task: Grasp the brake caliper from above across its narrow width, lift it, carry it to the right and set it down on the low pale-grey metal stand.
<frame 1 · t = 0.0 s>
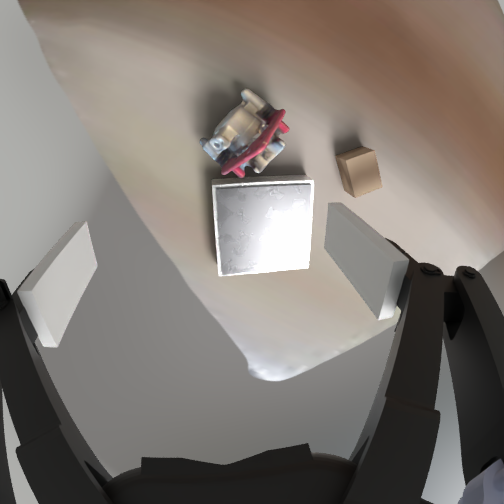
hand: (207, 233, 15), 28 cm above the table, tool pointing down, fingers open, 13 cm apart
brown rectangular block: (353, 168, 44), on the table
brake caliper: (244, 135, 40), on the table
stand: (260, 220, 46), on the table
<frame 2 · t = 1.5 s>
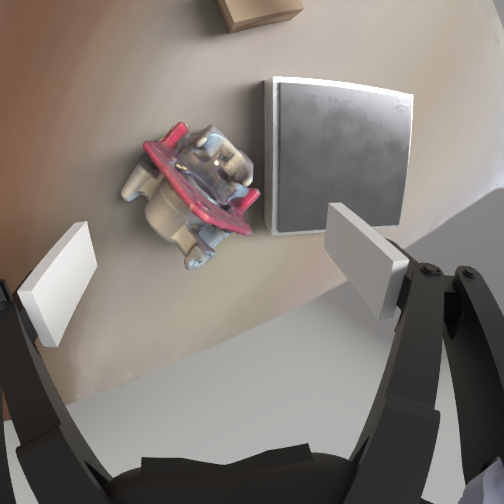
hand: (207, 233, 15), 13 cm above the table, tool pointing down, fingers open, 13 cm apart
brown rectangular block: (251, 4, 20), on the table
brake caliper: (196, 178, 27), on the table
stand: (333, 153, 28), on the table
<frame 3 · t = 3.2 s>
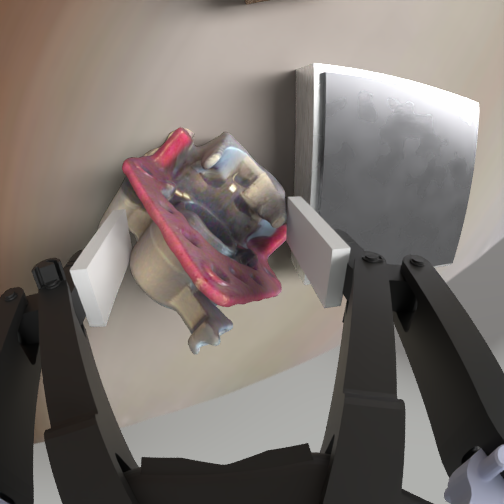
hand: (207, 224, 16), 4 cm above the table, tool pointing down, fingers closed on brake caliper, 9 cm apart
brake caliper: (202, 205, 20), on the table, touching gripper
stand: (381, 171, 21), on the table
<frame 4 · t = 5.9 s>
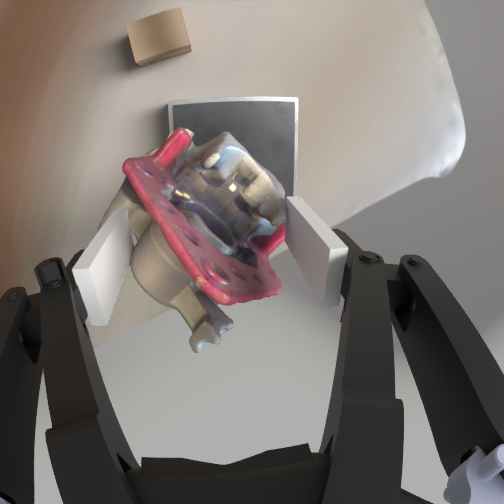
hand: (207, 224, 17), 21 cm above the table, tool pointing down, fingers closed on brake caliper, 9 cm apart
brown rectangular block: (161, 41, 27), on the table
brake caliper: (203, 204, 20), point 16 cm above the table, touching gripper
stand: (232, 154, 35), on the table
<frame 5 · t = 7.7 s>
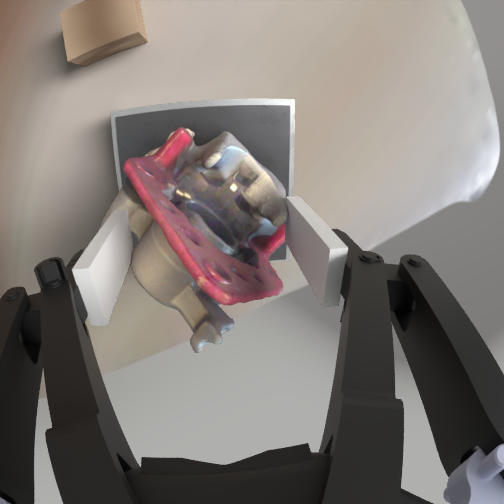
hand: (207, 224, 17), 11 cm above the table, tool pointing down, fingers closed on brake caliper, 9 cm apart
brown rectangular block: (111, 30, 18), on the table
brake caliper: (203, 204, 20), point 6 cm above the table, touching gripper
stand: (205, 179, 26), on the table
when the fingers open (10 cm above the table, at t = 8.8 s): brake caliper drops 2 cm, resting on stand.
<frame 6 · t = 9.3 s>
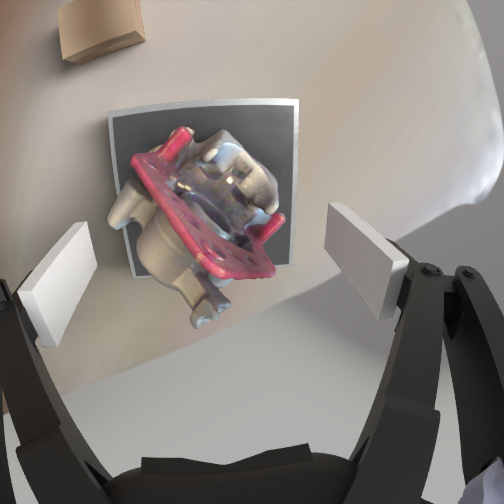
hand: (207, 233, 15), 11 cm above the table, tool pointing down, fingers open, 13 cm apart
brown rectangular block: (109, 28, 17), on the table
brake caliper: (202, 197, 22), point 4 cm above the table, touching stand
stand: (206, 181, 25), on the table
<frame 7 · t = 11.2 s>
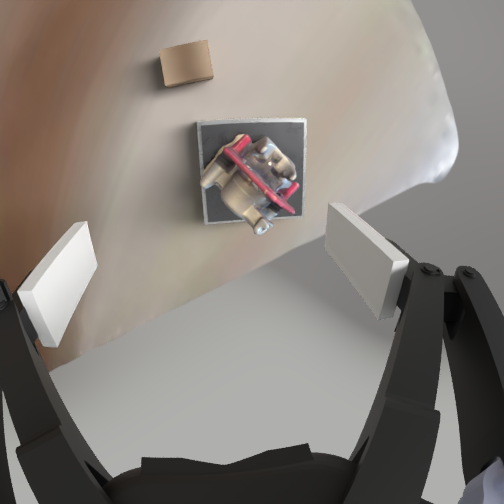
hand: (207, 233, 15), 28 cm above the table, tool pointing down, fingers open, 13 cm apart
brown rectangular block: (188, 66, 34), on the table
brake caliper: (251, 174, 38), point 4 cm above the table, touching stand
stand: (250, 166, 41), on the table
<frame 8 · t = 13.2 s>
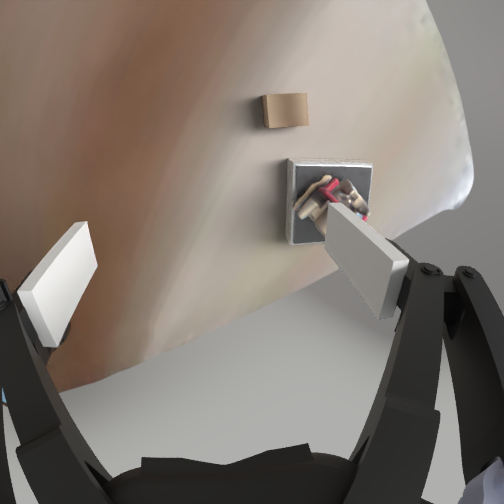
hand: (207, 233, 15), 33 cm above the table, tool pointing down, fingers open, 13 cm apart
brown rectangular block: (281, 109, 43), on the table
brake caliper: (330, 206, 48), point 4 cm above the table, touching stand
stand: (325, 197, 51), on the table
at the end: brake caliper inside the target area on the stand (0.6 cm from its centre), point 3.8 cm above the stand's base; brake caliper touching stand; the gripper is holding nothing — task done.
